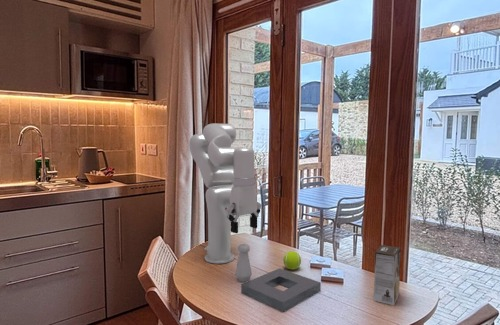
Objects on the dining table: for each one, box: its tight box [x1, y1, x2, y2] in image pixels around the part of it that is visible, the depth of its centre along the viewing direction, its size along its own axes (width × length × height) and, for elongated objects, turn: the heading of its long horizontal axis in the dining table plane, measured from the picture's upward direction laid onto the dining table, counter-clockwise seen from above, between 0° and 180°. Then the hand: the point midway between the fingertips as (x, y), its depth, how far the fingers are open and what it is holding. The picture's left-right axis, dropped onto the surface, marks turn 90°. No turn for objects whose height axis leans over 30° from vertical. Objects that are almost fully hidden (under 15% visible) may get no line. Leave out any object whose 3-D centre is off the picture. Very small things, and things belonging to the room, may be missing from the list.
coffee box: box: [373, 244, 402, 306], centre depth 111 cm, size 9×6×16 cm
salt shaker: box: [235, 243, 252, 283], centre depth 125 cm, size 6×6×13 cm
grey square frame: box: [240, 268, 322, 313], centre depth 115 cm, size 18×20×3 cm
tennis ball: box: [282, 250, 302, 271], centre depth 136 cm, size 7×7×7 cm
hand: (244, 230), depth 124 cm, fingers open, 9 cm apart
